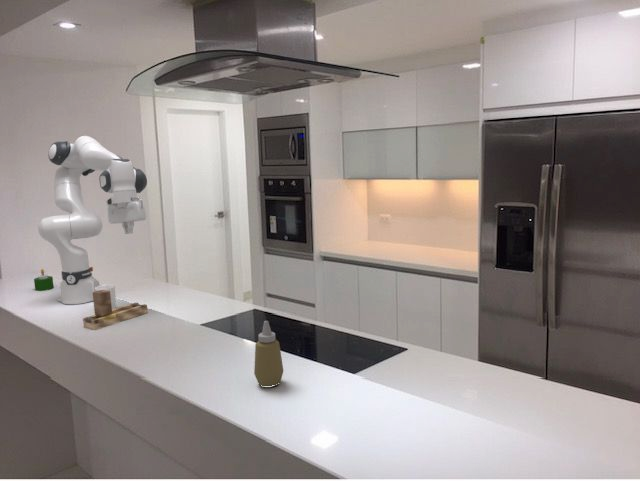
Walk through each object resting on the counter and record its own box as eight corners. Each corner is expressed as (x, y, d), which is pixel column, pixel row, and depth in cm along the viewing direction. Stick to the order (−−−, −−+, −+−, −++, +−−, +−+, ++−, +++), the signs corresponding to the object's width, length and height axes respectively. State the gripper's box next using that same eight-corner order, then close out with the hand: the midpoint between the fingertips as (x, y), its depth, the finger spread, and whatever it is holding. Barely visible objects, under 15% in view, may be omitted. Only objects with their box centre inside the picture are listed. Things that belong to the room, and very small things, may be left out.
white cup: (104, 313, 224) (101, 290, 222) (93, 310, 229) (91, 287, 227) (121, 308, 230) (118, 285, 229) (110, 306, 235) (108, 283, 233)
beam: (136, 310, 227) (136, 302, 226) (147, 312, 223) (146, 304, 222) (83, 327, 207) (82, 318, 207) (94, 330, 203) (93, 321, 203)
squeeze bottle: (251, 390, 147) (247, 326, 144) (258, 377, 155) (255, 316, 152) (280, 390, 146) (277, 326, 143) (286, 378, 154) (283, 316, 151)
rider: (105, 315, 213) (102, 289, 212) (112, 317, 211) (109, 290, 209) (95, 318, 210) (92, 292, 208) (102, 320, 207) (99, 293, 205)
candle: (38, 287, 274) (35, 268, 273) (55, 286, 276) (53, 266, 274) (32, 291, 266) (30, 271, 264) (51, 290, 268) (48, 270, 266)
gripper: (148, 196, 214) (151, 231, 214) (117, 201, 225) (120, 234, 226) (134, 196, 208) (138, 232, 209) (103, 201, 220) (107, 235, 221)
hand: (128, 233), depth 218 cm, fingers closed
